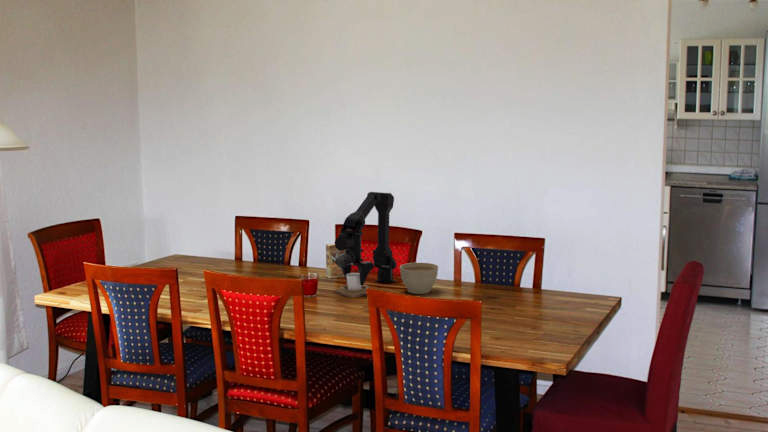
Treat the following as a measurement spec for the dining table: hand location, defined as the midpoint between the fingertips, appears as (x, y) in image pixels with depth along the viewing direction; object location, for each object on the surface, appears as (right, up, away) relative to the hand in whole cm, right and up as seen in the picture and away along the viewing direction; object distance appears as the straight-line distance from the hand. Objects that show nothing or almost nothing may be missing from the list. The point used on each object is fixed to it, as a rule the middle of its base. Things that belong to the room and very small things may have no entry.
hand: (354, 283), depth 342 cm
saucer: (0, -4, +1) cm, 4 cm away
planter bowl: (+27, -4, +2) cm, 27 cm away
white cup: (0, -3, +1) cm, 3 cm away
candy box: (-9, 0, +31) cm, 32 cm away
